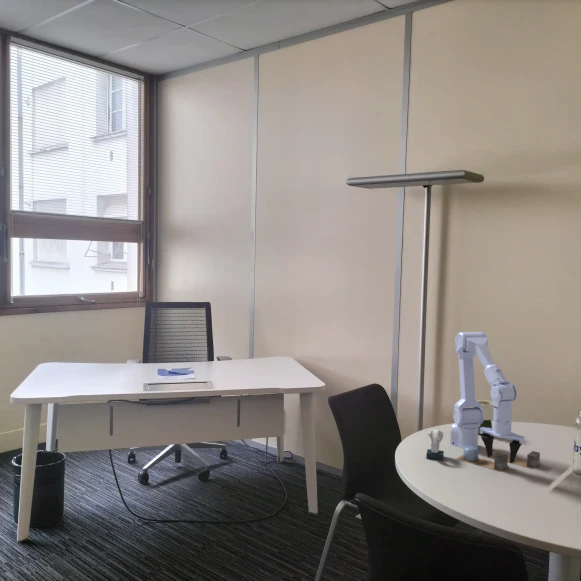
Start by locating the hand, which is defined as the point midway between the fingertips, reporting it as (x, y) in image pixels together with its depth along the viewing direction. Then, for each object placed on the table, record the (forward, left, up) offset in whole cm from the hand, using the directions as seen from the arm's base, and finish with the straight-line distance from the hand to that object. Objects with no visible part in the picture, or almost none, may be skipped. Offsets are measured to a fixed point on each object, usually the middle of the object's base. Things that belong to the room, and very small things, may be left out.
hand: (500, 459), depth 186 cm
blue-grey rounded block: (-10, 0, -3) cm, 11 cm away
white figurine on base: (-20, -7, -4) cm, 22 cm away
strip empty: (+1, +10, -4) cm, 11 cm away
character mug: (-20, +33, -4) cm, 39 cm away
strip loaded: (-6, 0, -4) cm, 8 cm away
